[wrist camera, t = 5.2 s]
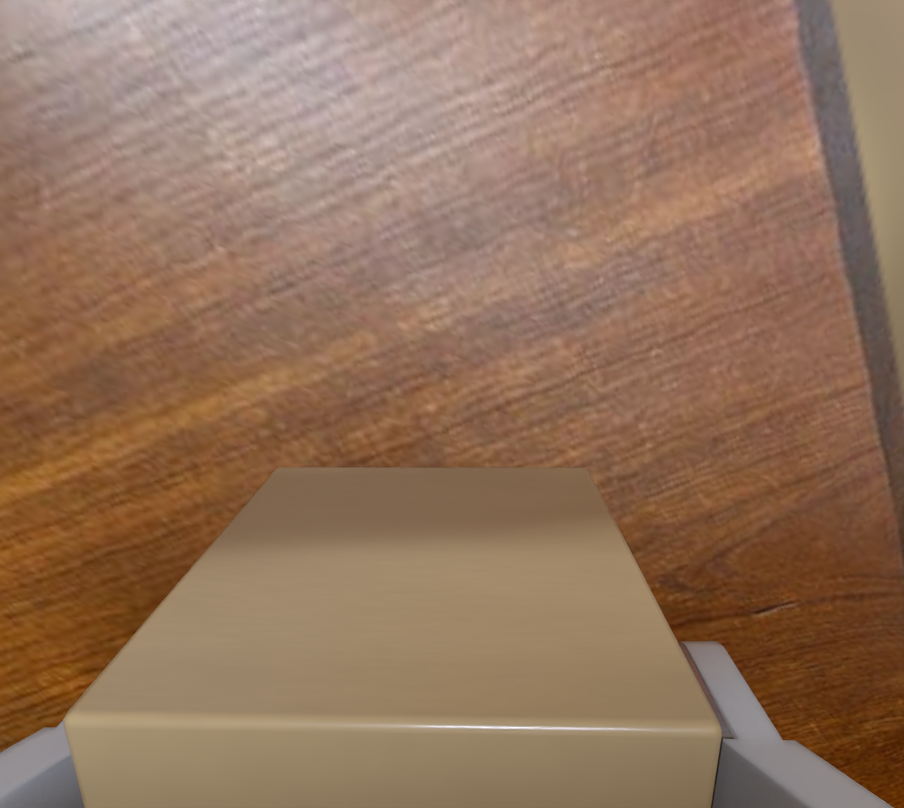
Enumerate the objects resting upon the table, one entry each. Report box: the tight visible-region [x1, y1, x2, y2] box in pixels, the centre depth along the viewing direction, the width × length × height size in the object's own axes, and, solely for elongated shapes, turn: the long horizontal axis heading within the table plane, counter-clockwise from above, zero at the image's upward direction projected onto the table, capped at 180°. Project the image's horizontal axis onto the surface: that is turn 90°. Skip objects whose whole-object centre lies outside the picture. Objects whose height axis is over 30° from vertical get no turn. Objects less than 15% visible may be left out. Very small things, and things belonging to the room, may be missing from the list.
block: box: [63, 468, 722, 808], centre depth 7 cm, size 5×5×5 cm
